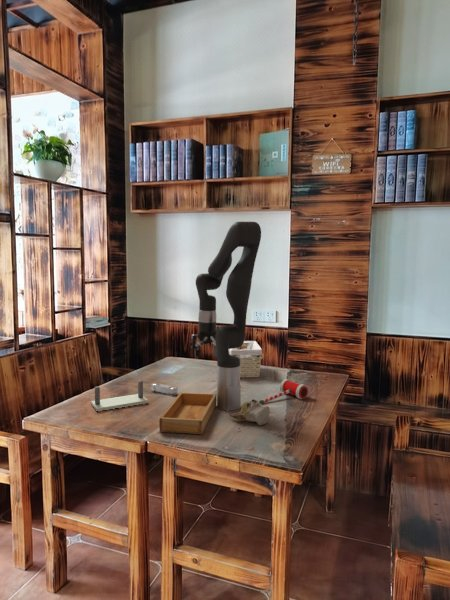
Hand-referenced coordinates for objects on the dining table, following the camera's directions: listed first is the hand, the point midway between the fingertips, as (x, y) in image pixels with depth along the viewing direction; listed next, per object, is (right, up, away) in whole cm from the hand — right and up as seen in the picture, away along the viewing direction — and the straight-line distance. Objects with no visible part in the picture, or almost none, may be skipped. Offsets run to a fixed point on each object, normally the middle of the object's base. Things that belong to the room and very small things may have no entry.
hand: (206, 357), depth 196 cm
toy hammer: (+34, -18, +1) cm, 38 cm away
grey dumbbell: (-19, -17, +8) cm, 27 cm away
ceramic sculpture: (+18, -21, -26) cm, 38 cm away
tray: (-5, -21, -23) cm, 32 cm away
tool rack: (-36, -18, -8) cm, 41 cm away
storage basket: (+18, -14, +42) cm, 47 cm away
